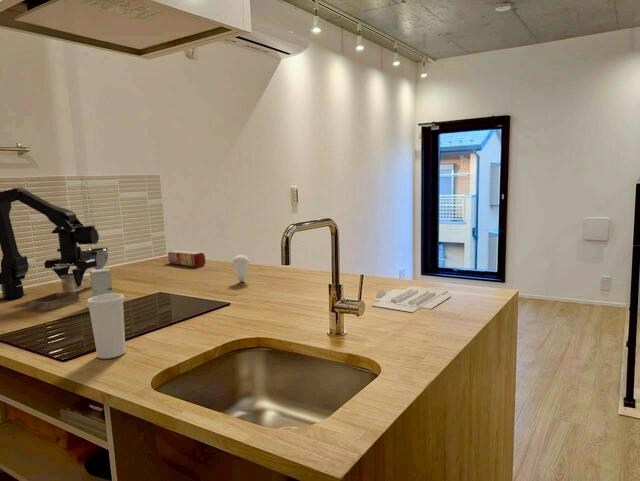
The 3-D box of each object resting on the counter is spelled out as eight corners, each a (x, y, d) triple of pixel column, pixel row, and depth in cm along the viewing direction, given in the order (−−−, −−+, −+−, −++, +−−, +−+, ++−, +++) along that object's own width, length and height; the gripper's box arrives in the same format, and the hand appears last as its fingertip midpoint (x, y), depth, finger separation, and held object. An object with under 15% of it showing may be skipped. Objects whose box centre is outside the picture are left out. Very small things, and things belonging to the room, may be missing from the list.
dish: (67, 287, 182) (66, 282, 182) (80, 283, 189) (79, 278, 188) (81, 288, 180) (80, 282, 180) (94, 283, 187) (93, 278, 186)
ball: (73, 285, 183) (72, 276, 183) (80, 283, 186) (79, 275, 186) (81, 285, 182) (80, 277, 182) (87, 283, 185) (86, 275, 185)
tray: (457, 294, 152) (457, 283, 151) (423, 320, 130) (423, 308, 130) (402, 287, 164) (402, 277, 164) (362, 310, 142) (362, 299, 142)
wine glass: (85, 287, 180) (81, 250, 178) (100, 282, 188) (96, 247, 186) (101, 288, 178) (96, 251, 176) (116, 283, 185) (112, 247, 183)
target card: (69, 300, 161) (69, 299, 161) (88, 294, 170) (87, 293, 170) (82, 301, 160) (82, 300, 159) (101, 294, 168) (101, 293, 168)
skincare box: (94, 307, 151) (90, 272, 149) (92, 304, 154) (88, 270, 153) (114, 304, 154) (110, 269, 152) (112, 301, 158) (108, 267, 156)
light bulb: (247, 284, 176) (245, 256, 174) (231, 284, 177) (229, 256, 175) (252, 280, 182) (251, 253, 180) (237, 280, 183) (235, 253, 182)
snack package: (167, 264, 226) (166, 250, 225) (179, 261, 231) (178, 248, 230) (194, 268, 212) (193, 253, 211) (207, 265, 217) (205, 251, 216)
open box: (27, 309, 152) (26, 302, 151) (56, 299, 163) (55, 292, 163) (51, 310, 149) (50, 303, 149) (79, 300, 161) (78, 293, 160)
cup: (96, 364, 103) (89, 304, 101) (90, 354, 110) (83, 297, 108) (133, 355, 108) (127, 297, 106) (125, 345, 114) (119, 291, 112)
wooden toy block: (62, 291, 166) (60, 275, 165) (73, 288, 171) (71, 272, 170) (73, 292, 165) (72, 276, 164) (84, 288, 170) (82, 273, 169)
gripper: (105, 241, 171) (109, 281, 173) (65, 241, 176) (69, 280, 178) (82, 246, 160) (87, 289, 162) (40, 246, 165) (46, 287, 167)
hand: (73, 286), depth 168 cm, fingers closed on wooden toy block, 5 cm apart
